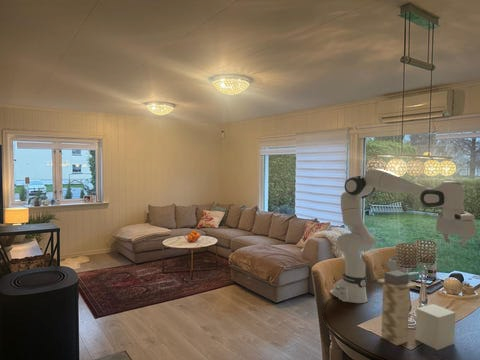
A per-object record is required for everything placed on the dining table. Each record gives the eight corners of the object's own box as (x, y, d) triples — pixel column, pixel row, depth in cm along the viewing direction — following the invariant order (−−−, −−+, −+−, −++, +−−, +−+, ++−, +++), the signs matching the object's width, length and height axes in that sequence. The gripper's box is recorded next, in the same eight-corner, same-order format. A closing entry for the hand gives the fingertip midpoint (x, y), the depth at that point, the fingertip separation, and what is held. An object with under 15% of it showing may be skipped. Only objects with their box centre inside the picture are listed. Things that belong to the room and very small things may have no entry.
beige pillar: (375, 335, 150) (377, 279, 149) (390, 331, 155) (392, 276, 154) (398, 348, 139) (400, 288, 139) (413, 343, 144) (416, 284, 143)
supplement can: (431, 274, 244) (432, 254, 243) (438, 277, 235) (439, 257, 235) (420, 274, 243) (421, 254, 243) (427, 277, 235) (428, 257, 235)
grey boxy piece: (384, 281, 147) (384, 272, 147) (410, 275, 155) (410, 267, 155) (396, 285, 142) (396, 276, 142) (422, 279, 150) (422, 271, 150)
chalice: (390, 276, 236) (390, 255, 236) (411, 281, 227) (412, 259, 227) (384, 281, 225) (385, 259, 225) (406, 286, 217) (407, 263, 216)
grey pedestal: (415, 339, 148) (416, 308, 147) (431, 333, 153) (433, 303, 153) (437, 350, 139) (438, 317, 138) (454, 343, 144) (455, 312, 144)
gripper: (432, 213, 166) (433, 241, 166) (465, 216, 146) (466, 248, 145) (443, 213, 167) (444, 240, 166) (477, 216, 147) (479, 247, 146)
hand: (455, 244), depth 156 cm, fingers open, 8 cm apart
